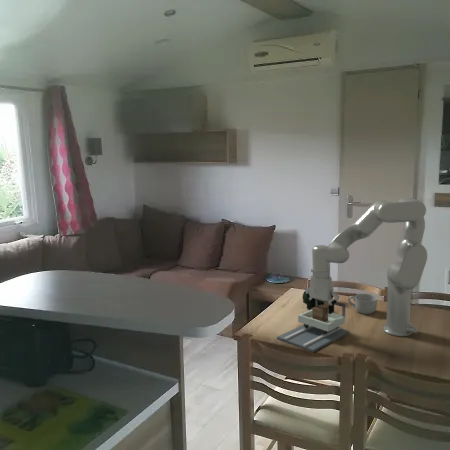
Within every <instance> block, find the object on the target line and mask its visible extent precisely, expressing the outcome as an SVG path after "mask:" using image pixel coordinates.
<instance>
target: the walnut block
mask: <svg viewBox="0 0 450 450" xmlns="http://www.w3.org/2000/svg"><path fill="white" fill-rule="evenodd" d="M328 311H329V310H328V306H323V305H317V306H316V307H313V308H312V318H313V319H316V320H319V321H322V322H326V321H328Z"/></svg>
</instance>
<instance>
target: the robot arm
mask: <svg viewBox="0 0 450 450" xmlns="http://www.w3.org/2000/svg"><path fill="white" fill-rule="evenodd" d="M426 214H427V207H426V205H425V203H424V202H422V201H421V200H417V199H415V198H412V197H408V196H405V197H401V198H400V199H399V200H398V201H396V202H394V201H392V202H390V201H387V200H384V199H378V200H376V201H374V203H373V204H371V206H369V208H368V209H366V210H365V212H363V214H361V216H359V218H357V220H356V221H355V222H354V223H352V224H351V225H349V226H347V227H346V228H344V229H343V230H342V231H340V232H339V234H337V235H336V236H335V237H334V238H333V239H332V241H330V243H329V244H328V245H324V244H318V245H314V246H313V247H312V250H311V252H312V253H311V254H312V255H311V256H312V260H311V261H312V268H311V269H310V272H311V273H312V274H311V276H310V281H309V287H308V288H305V289H304V291H306V294H307V296H308V298H309V300H310V309H312V308H313V307H316V300H315V299H319V300H323V301H328V303H327V304H328V306H327V307H328V311H329V314H332V313H335V305H334V304H335V303H336V302H338V301H339V299H340V296H339V294H338V293H336V292H335V291H334V285H333V279H332V276H331V263H333V264H344V263H346V262H347V261H348V260H349V258H350V252H349V250H348V248H349V247H350V246H351V245H352V244H354V243H355V242H357V241H359V240H363V239H367V238H369V237H371V236H372V235H373V233H374V232H376V230H377V229H378V228H379V227H380V226H382V224H383V223H386V224H387V223H388V224H389V223H390V224H393V223H403V228H402V233H401V235H400V238H399V240H398V244H397V247H396V253H397V254H396V255H397V256H398V258H400V259H401V260H402V261H394V262H392V263H391V264H389V266H388V268H387V271H386V278H387V279H386V280H387V281H386V282H387V301H386V302H387V305H386V323H385V324H384V325H383V326H382V330H383V332H384V333H385V334H388V335H391V336H394V337H408V336H411V335H412V334H418V331H419V330H418V327H417V326H413V325H412V322H411V321H410V318H411V314H410V313H411V299H412V298H411V297H412V296H411V295H412V291H411V290H414V289H415V288H416V287H418V285H419V284H420V281H421V279H422V276H423V273H424V270H425V267H426V264H427V261H428V251H427V248H426V247H425V245H423V244H422V241H423V237H424V234H425V230H426V219H425V215H426ZM314 298H315V299H314ZM330 300H331V301H330Z"/></svg>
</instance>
